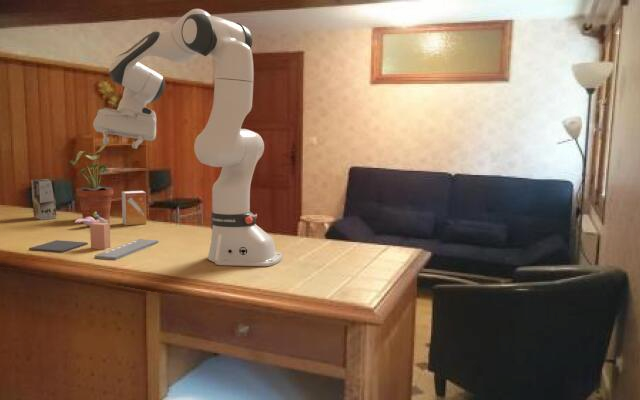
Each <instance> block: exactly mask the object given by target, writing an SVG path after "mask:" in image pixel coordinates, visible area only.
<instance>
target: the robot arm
mask: <svg viewBox="0 0 640 400" xmlns="http://www.w3.org/2000/svg"><path fill="white" fill-rule="evenodd" d="M252 46H253V37H252V34H251V31H250V29H249V28H248V27H246V26H244V25H243V24H240V22H234V21H232V20H229V19H224V18H223V17H218V16H215V15H211V14H210V13H209V12H208V11H206V10H204V9H201V8H193V9H191V10H189V11H188V12H186V13H185V14H183V16H181V18H179V19H178V20H177V21H176V22H175V23H174V25H173V26H172V27H170V28H168V29H167V30H162V31H156V30H155V31H152V32H151V33H149V34H147V35H146V36H145V37H143V38H142V39H140V40H139V41H138V42H136V43H134V44H133V46H131V47H130V48H129V49H127V50H126V51H125V52H123V53H121V54H118V55H117V56H116V57H115V58H113V60H112V62H111V63H110V65H109V68H108V75H109V77H110V80H111V81H112V82H113V83H115V84H118V85H120V86H123V87H124V89H123V91H122V92H123V95H122V98H121V99H120V101H119V104H118V106H117V109H115V108H114V109H113V108H108V107H104V108H100V109H98V110H97V114H96V117H95V118H94V120H93V122H92V123H93V124H92V126H93V129H94V130H95V132H98V133H102V135H103V138H102V142H103V143H107V144H109V142H110V137H109V136H108V135H109V134H110V135H116V136H120V137H126V138H132V139H137V140H136V141H132V144H131V147H132V149H136V150H137V149H138V147H139V145H140V144H142V143H143V142H144V141H149V142H153V141H154V140H155V139H156V137H157V115H156V112H155V111H154V110H153V109H150V108H149V107H147V105H148V104H152V103H155V102H157V101H160V99H161V98H162V96H163V94H164V91H165V87H166V81H165V77H164V76H163V75H162V74H160V73H159V72H157V71H155V70H154V69H152V68H150V67H147V66H146V65H144V64H143V63H141V62H140V61H142V60H143V59H145V58H146V57H158V58H162V59H165V60H168V61H171V62H173V63H178V64H179V63H180V64H181V63H182V64H186V63H189V62H191V61H192V60H194V59H195V58H197V56H199V55H202V56H203V57H207V56H208V55H209V56H211V57H212V58H213V59H214V62H215V72H214V73H215V74H214V88H213V89H214V91H213V101H212V102H213V104H212V109H211V112H210V116H209V118H208V121H207V122H206V125H205V127H204V128H203V130H202V131H201V132H200V133H199V134H198V135H197V137H196V138H195V140H194V145H193V146H194V147H193V151H194V153H195V156H196V159H197V160H198V161H199V162H200V163H201V164H204V165H206V166H211V167H214V168H221V171H220V174H219V176H218V177H217V180H216V181H215V182H214V183H213V185H212V188H211V189H212V191H211V192H212V193H211V195H212V198H211V199H212V200H211V201H212V211H211V212H210V213H211V214H210V227H211V228H210V229H211V239H210V240H211V241H210V245H209V246H210V247H209V251H208V254H207V260H209V261H210V262H213V263H214V264H216V265H217V266H235V267H236V266H239V267H241V266H243V267H245V266H246V267H247V266H248V267H270V266H273V265H277V263H279V262H280V261H282V259H283V254H282V252H279V251H276V246H275V241H274V238H273V237H272V236H271V235H270V234H268V232H266V231H265V230H264V229H262V228H261V227H260V226H258V225H257V224H256V223H257V220H256V219H257V218H258V213H255V214H254V213H253V212H252V211H251V210H250V209H251V203H250V201H251V198H250V197H251V183H252V180H253V177H254V176H253V175H254V171H255V169H256V166H257V163H258V161H259V160H260V159H261V158H262V156H263V154H264V151H265V142H264V140H263V138H262V136H261V135H260V134H259V133H258V132H255V131H253V130H250V129H247V128H242V125H243V123H244V121H245V119H246V116H247V115H248V114H249V113H250V112H251V110H252V108H253V95H254V76H255V75H254V59H253V51H252ZM107 144H106V145H107Z"/></svg>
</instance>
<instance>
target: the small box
mask: <svg viewBox="0 0 640 400" xmlns="http://www.w3.org/2000/svg"><path fill="white" fill-rule="evenodd" d="M121 208H122V210H121V211H122V214H121V215H122V223H123V225H125V226H135V225H136V226H137V225H147V192H146V191H144V190H130V191H129V190H126V191H121Z"/></svg>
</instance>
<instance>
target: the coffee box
mask: <svg viewBox="0 0 640 400" xmlns="http://www.w3.org/2000/svg"><path fill="white" fill-rule="evenodd" d="M30 181H31V195H32V196H31V197H32V209H33V218H34V219H38V220H39V221H40V220H41V221H45V220H52V219H55V220H56V219H57V205H56V184H55V180H54V179H53V180H52V179H50V178H49V179H48V178H42V179H41V178H40V179H31V180H30Z"/></svg>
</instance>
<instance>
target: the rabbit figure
mask: <svg viewBox="0 0 640 400" xmlns="http://www.w3.org/2000/svg"><path fill="white" fill-rule="evenodd" d="M96 213H97V212H94V213H93V216H94V217H98V218H97V220H95V219H94V218H93V217H86V218H84V219H83V218H78V219H76V220H75V221H74V224H76V223H77V224H80V223H83V224H84V225H85V226H88V227H89V228H90V224H92V223H95V222H98V223H110V219H109V220H108V219H106V220H105V219H103V218H101V217H99V215H97V214H96ZM107 220H108V221H107Z"/></svg>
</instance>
